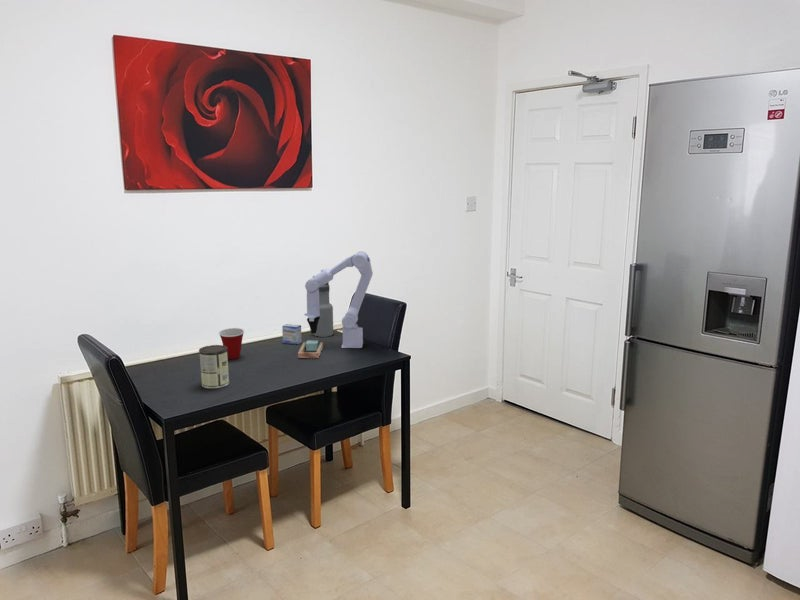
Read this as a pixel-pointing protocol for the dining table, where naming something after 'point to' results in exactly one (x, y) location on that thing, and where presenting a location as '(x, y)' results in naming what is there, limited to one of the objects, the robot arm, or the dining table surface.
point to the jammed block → (311, 345)
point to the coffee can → (214, 366)
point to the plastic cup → (232, 341)
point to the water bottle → (325, 313)
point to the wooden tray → (310, 354)
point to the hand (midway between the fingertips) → (313, 333)
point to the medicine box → (291, 334)
